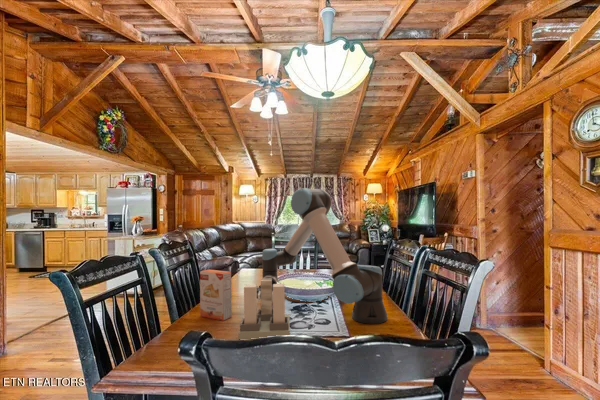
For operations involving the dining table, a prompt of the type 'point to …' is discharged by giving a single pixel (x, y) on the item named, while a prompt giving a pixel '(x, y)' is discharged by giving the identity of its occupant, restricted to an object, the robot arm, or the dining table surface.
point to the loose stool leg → (266, 296)
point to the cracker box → (215, 294)
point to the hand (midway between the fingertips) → (265, 298)
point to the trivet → (299, 300)
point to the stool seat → (264, 315)
